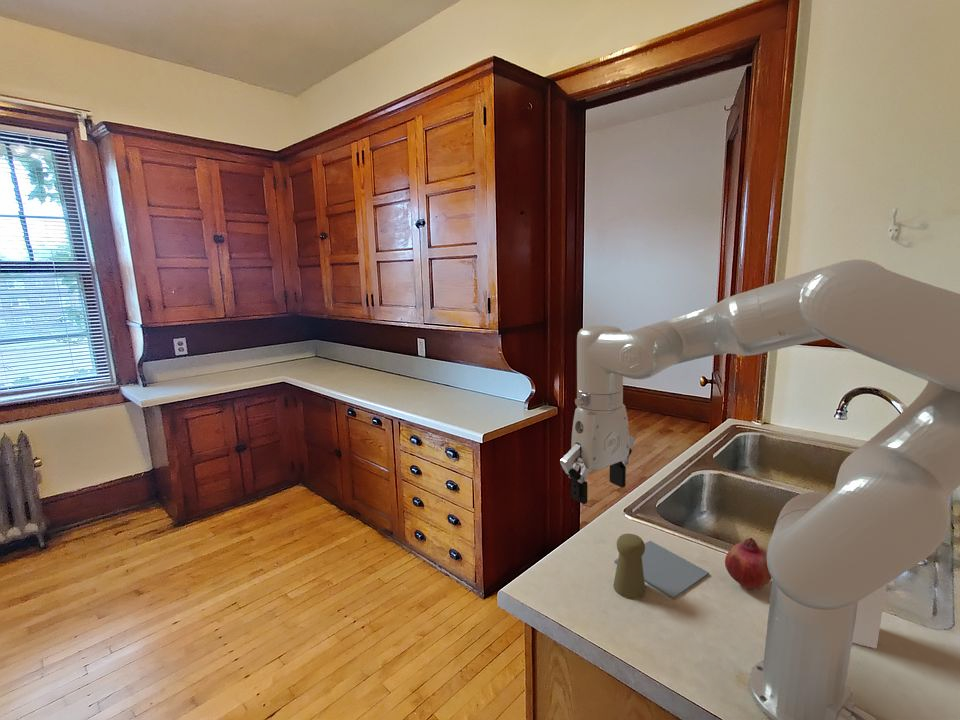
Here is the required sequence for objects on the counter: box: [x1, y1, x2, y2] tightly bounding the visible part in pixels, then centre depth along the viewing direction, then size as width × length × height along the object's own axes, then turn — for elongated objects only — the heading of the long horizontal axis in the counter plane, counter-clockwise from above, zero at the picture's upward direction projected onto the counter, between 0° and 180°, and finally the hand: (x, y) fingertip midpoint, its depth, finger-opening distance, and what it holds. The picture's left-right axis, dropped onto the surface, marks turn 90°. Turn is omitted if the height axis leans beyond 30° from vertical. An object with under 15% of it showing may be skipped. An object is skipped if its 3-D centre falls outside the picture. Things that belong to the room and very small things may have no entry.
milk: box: [852, 583, 888, 650], centre depth 78 cm, size 6×6×22 cm
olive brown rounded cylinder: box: [613, 533, 646, 600], centre depth 91 cm, size 6×6×11 cm
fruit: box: [724, 537, 772, 590], centre depth 91 cm, size 8×8×10 cm
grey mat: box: [614, 540, 710, 600], centre depth 97 cm, size 14×12×1 cm
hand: (598, 492), depth 83 cm, fingers open, 9 cm apart
